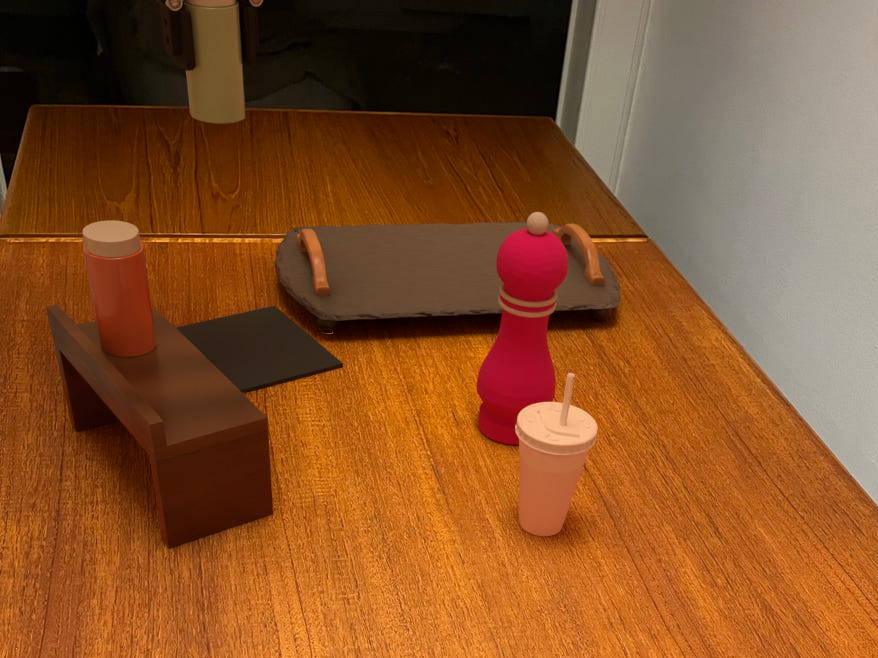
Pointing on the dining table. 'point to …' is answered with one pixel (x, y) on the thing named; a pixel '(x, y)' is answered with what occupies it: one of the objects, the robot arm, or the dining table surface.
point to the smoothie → (551, 460)
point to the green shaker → (216, 62)
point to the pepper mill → (522, 329)
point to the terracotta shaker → (119, 288)
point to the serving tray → (425, 271)
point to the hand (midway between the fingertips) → (213, 60)
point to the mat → (259, 348)
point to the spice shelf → (173, 424)
